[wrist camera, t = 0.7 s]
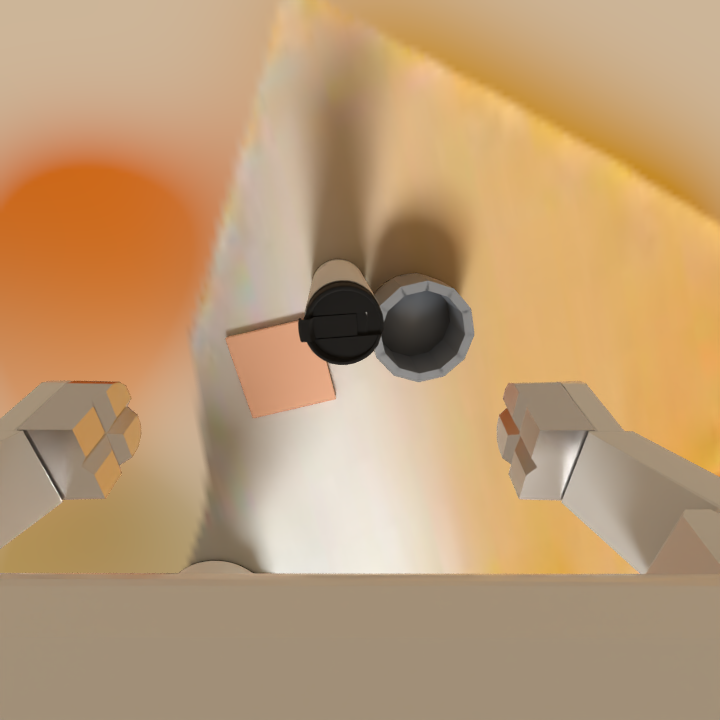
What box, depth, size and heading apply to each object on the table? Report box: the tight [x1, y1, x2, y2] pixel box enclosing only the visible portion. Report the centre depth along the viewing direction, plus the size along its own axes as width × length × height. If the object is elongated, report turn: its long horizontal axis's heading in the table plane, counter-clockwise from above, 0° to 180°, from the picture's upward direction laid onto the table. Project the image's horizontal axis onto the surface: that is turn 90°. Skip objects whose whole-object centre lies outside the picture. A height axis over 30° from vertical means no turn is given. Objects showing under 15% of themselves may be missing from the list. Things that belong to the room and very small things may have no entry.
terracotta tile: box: [225, 319, 336, 418], centre depth 52 cm, size 11×11×1 cm
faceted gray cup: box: [374, 273, 474, 382], centre depth 48 cm, size 11×11×7 cm
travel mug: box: [298, 259, 384, 365], centre depth 40 cm, size 6×7×20 cm
